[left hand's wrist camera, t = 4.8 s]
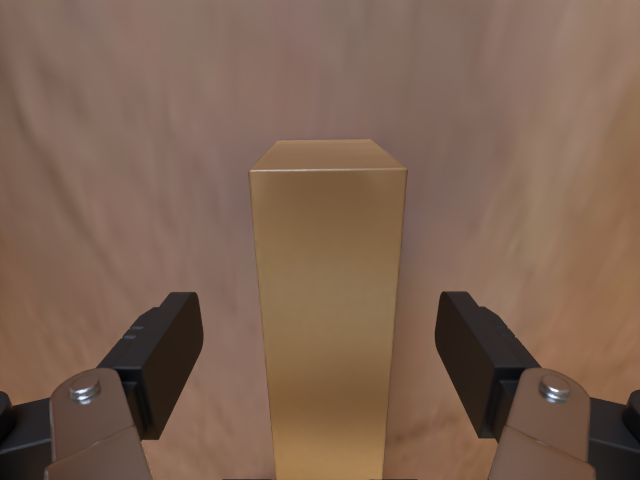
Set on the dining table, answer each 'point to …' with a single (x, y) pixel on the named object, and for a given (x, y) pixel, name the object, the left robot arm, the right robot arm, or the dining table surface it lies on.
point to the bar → (328, 301)
